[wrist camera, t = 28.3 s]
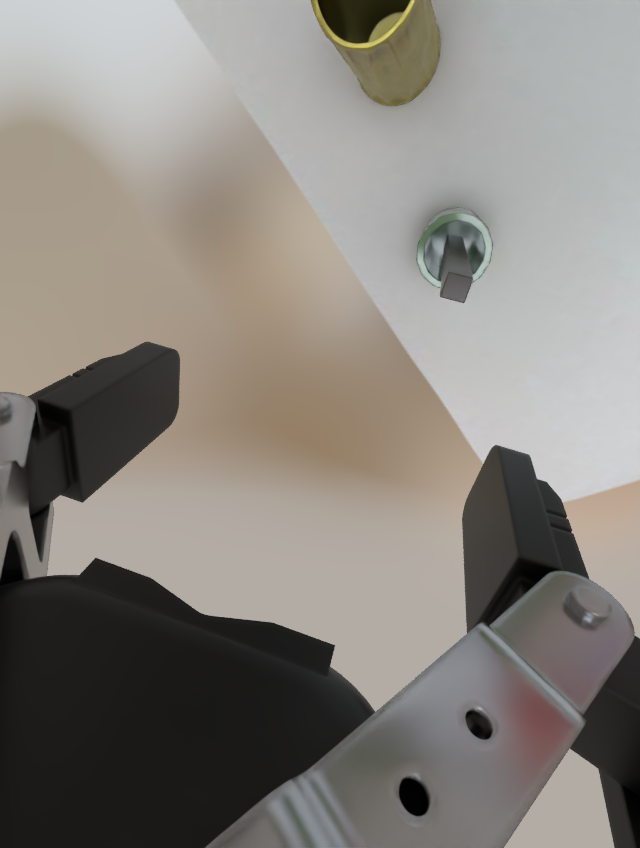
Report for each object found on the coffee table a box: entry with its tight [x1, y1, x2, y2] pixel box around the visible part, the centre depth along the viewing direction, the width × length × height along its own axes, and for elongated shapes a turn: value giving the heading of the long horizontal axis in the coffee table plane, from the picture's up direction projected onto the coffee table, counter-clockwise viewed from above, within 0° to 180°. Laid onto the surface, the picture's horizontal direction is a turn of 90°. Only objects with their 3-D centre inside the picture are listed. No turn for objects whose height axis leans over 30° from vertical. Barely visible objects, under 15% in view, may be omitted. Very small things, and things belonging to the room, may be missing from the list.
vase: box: [311, 0, 440, 106], centre depth 25 cm, size 6×6×14 cm
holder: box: [417, 207, 493, 288], centre depth 33 cm, size 5×5×7 cm
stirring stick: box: [440, 234, 473, 303], centre depth 28 cm, size 1×1×18 cm
